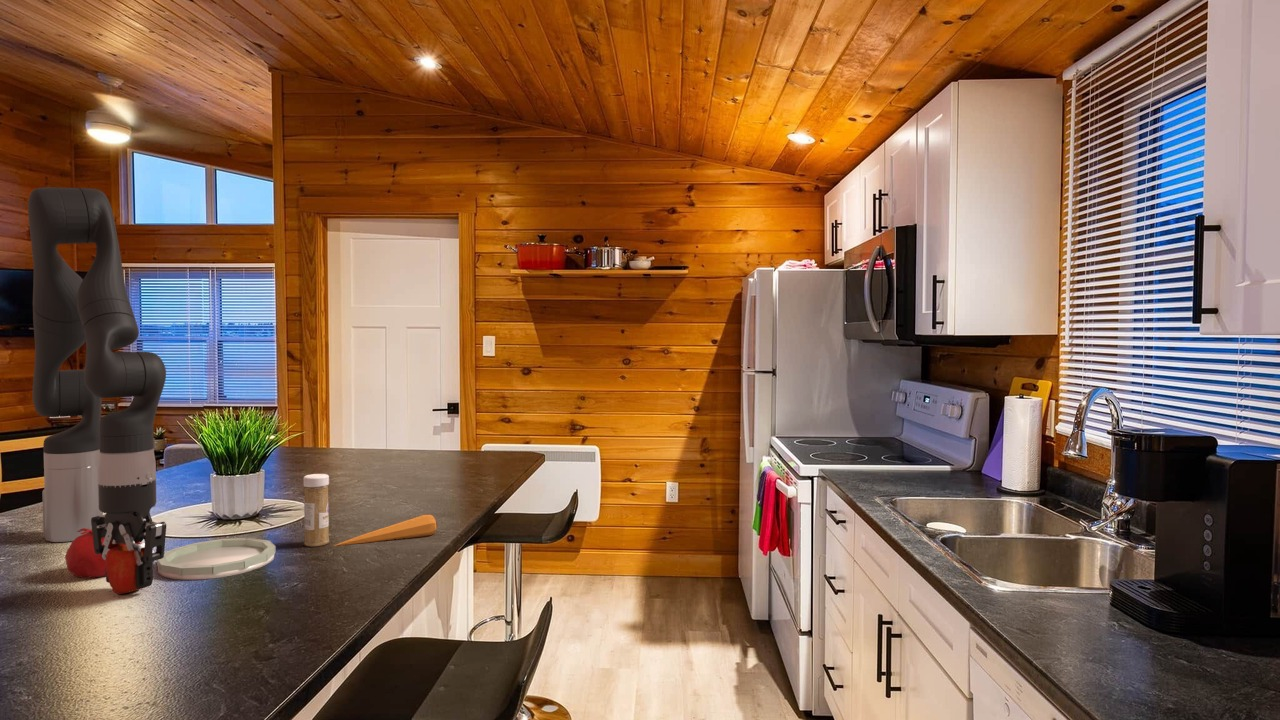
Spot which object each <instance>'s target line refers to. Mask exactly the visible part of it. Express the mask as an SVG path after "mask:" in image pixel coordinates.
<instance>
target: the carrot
mask: <svg viewBox="0 0 1280 720" xmlns="http://www.w3.org/2000/svg"><path fill="white" fill-rule="evenodd" d="M437 529H438V521H437V519H436V518H435V517H434V516H433V515H432V514H423V515H420V516H417V517H413V518H411V519H407V520H404V521H400V522H397V523H395V524H392V525H388V526H386V527H382V528H380V529H376V530H373V531H370V532H367V533H363V534H361V535H358V536H355V537H352V538H350V539H347V540H345V541H343V542H339V543H336V544H334V545H333V547H337V546H338V545H339V546H346V545H348V546H349V545H356V544H357V545H358V544H359V545H360V544H366V543H367V544H368V543H377V542H386V540H387V541H394V539H396V540H403V538H405V539H410V538H411V539H412V538H420V537H430V536H432V535H434V534H436V530H437Z"/></svg>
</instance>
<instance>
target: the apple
mask: <svg viewBox="0 0 1280 720" xmlns="http://www.w3.org/2000/svg"><path fill="white" fill-rule="evenodd" d="M142 543H143V542H139V543H136V544H142ZM140 551H141V554H142V556H144V549H141V550H140ZM135 565H137V564H136V562H135V559H134V556H133V553H131V552H129V551H128V549H127V546H126V544H125V545H120V546H116V547H113V548H112V549H110V550H109V551H108V552H107V555H106V572H107V576H108V579H109V586H110V587H111V589H112V591H113V592H114V593H116V594H117V595H123V594H128V593H132V592H136V591H139V590H140V589H139V588H136V581H135Z"/></svg>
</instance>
